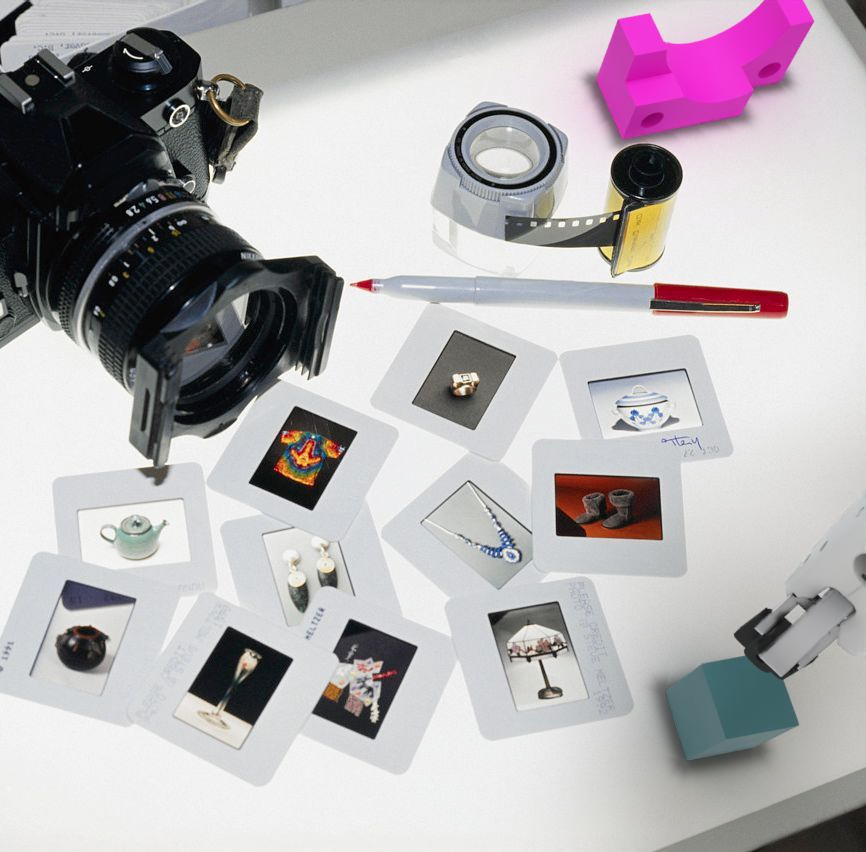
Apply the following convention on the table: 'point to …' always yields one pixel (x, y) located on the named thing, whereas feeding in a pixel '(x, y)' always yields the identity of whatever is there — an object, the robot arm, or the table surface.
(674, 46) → the magenta bracket
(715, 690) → the teal rectangular block
